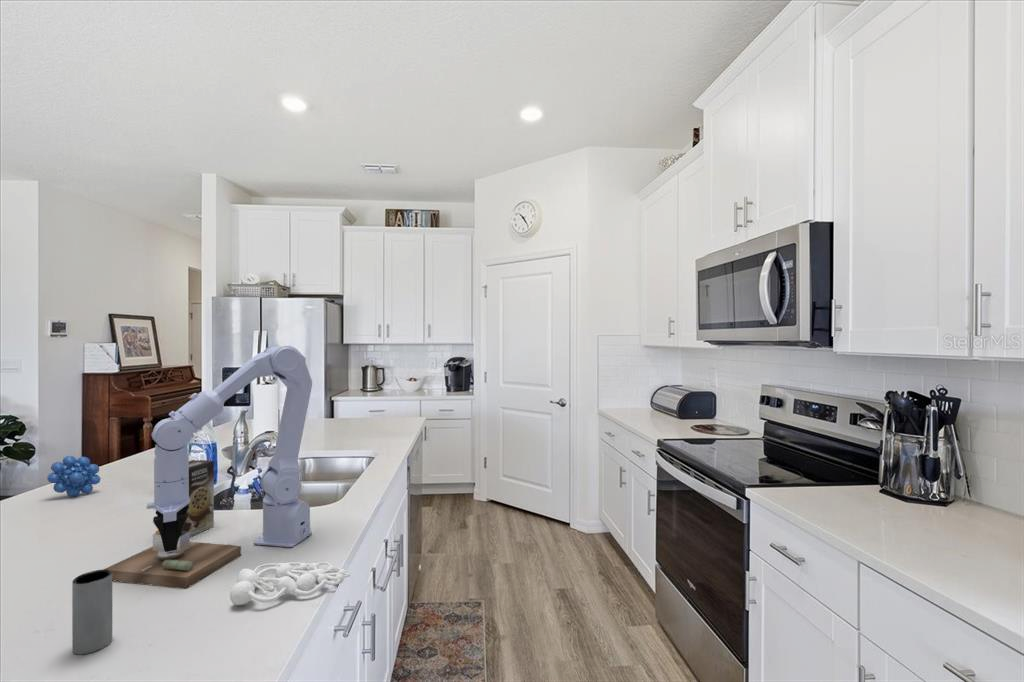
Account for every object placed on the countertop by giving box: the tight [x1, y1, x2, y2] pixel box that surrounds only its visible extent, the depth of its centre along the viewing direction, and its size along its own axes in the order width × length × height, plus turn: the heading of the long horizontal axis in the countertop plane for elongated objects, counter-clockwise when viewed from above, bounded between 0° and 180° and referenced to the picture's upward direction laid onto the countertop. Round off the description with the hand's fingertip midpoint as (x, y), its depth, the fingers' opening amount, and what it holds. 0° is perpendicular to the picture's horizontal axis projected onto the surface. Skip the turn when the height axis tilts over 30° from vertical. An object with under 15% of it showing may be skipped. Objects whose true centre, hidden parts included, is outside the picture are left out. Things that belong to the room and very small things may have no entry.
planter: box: [71, 569, 113, 655], centre depth 73 cm, size 4×4×10 cm
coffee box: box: [182, 459, 215, 538], centre depth 116 cm, size 9×6×16 cm
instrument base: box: [102, 541, 242, 589], centre depth 98 cm, size 18×14×4 cm
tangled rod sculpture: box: [229, 561, 351, 606], centre depth 91 cm, size 19×14×4 cm
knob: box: [152, 529, 191, 560], centre depth 99 cm, size 6×4×5 cm
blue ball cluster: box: [46, 455, 101, 498], centre depth 142 cm, size 12×7×12 cm, turn 139°
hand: (172, 546), depth 99 cm, fingers closed on knob, 3 cm apart
